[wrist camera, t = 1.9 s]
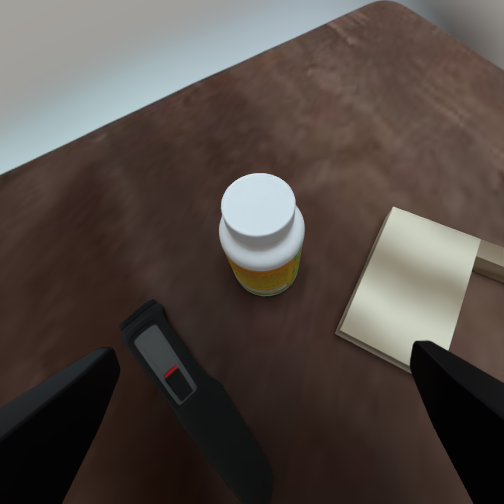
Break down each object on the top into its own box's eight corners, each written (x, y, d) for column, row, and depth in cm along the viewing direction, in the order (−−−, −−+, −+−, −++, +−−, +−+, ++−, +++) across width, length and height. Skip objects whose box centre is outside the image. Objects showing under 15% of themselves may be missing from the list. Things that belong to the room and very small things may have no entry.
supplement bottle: (303, 293, 22) (318, 242, 13) (236, 300, 23) (208, 255, 14) (293, 234, 25) (301, 156, 16) (232, 241, 25) (206, 168, 16)
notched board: (607, 476, 16) (649, 489, 15) (334, 333, 21) (339, 330, 19) (623, 311, 20) (658, 305, 18) (384, 219, 24) (393, 206, 22)
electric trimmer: (243, 513, 18) (237, 542, 15) (121, 327, 23) (99, 321, 20) (286, 467, 18) (288, 485, 16) (158, 297, 24) (142, 287, 21)
